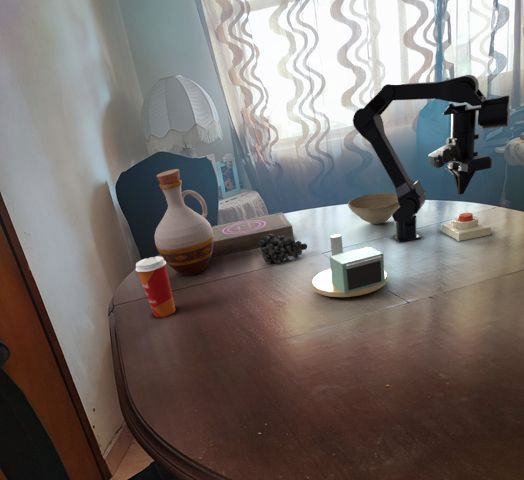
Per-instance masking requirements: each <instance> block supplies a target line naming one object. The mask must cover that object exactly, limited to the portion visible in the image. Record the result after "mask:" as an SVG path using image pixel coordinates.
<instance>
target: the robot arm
mask: <svg viewBox="0 0 524 480" xmlns="http://www.w3.org/2000/svg"><path fill="white" fill-rule="evenodd" d="M510 98H511V97H510V95H509V94H508V95H502V96H500V97H493V98H486V96H485V95H484V93H483V92H482V91H481V90H480V83H479V80H478V79H477V77H476V76H475V75H472V74H464V75H461V76H456V77H453V78H449V79H445V80H441V81H428V82H426V81H425V82H410V83H408V82H406V83H395V82H391V83H388V84H385V85H382V88H381V89H380V90H379V91H378V93H377V94H375V96H374V97H373V98H371V100H370V101H369V102H367V104H366V105H365V106H364V107H360V108H359V109H357V110H356V111H355V112H354V114H353V117H352V125H353V127H354V129H356V131H357V132H358V133H359V134H360V136H361V137H362V138H363V139H365V141H367V142H368V143H369V144H370V146H371V147H372V149H373V151H374V152H375V154H376V156H377V158H378V160H379V161H380V163H381V165H382V166H383V168H384V170H385V172H386V174H387V176H388V177H389V179H390V181H391V183H392V185H393V186H394V189H395V194H396V195H397V200H398V203H399V206H400V207H399V208H398V209H397V210H396V211H395V212H394V213H393V214H392V216H391V217H392V219H393V221H394V223H395V233H396V234H393V235H392V238H393V239H394V240H396V241H397V242H399V243H403V242H404V243H405V242H408V241H413V240H419V239H421V238H422V236H421V235H420V234H418V233H417V214H418V212H419V211H420V210H421V208H422V207H423V206H424V205H425V203H426V198H427V197H426V193H427V191H426V189H424V188H423V186H422V183H421V180H420V179H418V180H417V181H414V180H413V179H411V178H410V176H409V175H408V173H407V171H406V169H405V167H404V165H403V164H402V163H401V160H400V159H399V157H398V154H397V153H396V151H395V149H394V148H393V146H392V144H391V141H390V140H389V138H388V137H387V134H386V132H385V125H384V121H383V117H382V114H384V112H385V111H386V110H387V109H388V108H389V106H390V105H391V104H392V102H393V101H411V100H413V101H414V100H440V101H444V102H449V103H450V104H449V105H448V107H447V108H446V109H445V110H444V111H443V112H442V115H443V116H448V115H451V120H450V123H451V124H450V125H451V126H450V131H451V132H450V136H449V137H447V139H446V143H445V145H443V146H441V147H439V148H438V149H436V150H434V151H432V152H431V153H429V154H428V155H427V157H428V160H429V163H430V165H431V167H432V168H435V169H441V168H442V167H444V166H445V165H446V164H447V167H445V170H446V171H448V172H449V173H450V174H451V175H452V177H453V180H454V184H455V187H456V191H457V194H458V195H460V196H461V195H464V194H465V192H466V190H467V188H468V186H469V184H470V182H471V180H472V178H473V177H474V175H475V173H476V172H477V171H483V170H488V169H492V167H493V158H491V157H490V156H489V155H484V154H480V155H479V152H478V151H476V150H475V148H476V147H475V145H476V140H478V139H479V136H480V135H479V134H478V133H476V126H479V127H482V128H481V129H482V130H487V129H488V130H490V129H496V128H497V129H498V128H505V127H506V128H507V127H509V124H510V116H511V115H510V114H511V109H510ZM454 103H455V104H459V105H455V104H454ZM465 103H466V104H465ZM468 105H469V106H472V107H469V106H468ZM477 112H478V114H477ZM476 124H477V125H476Z"/></svg>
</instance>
